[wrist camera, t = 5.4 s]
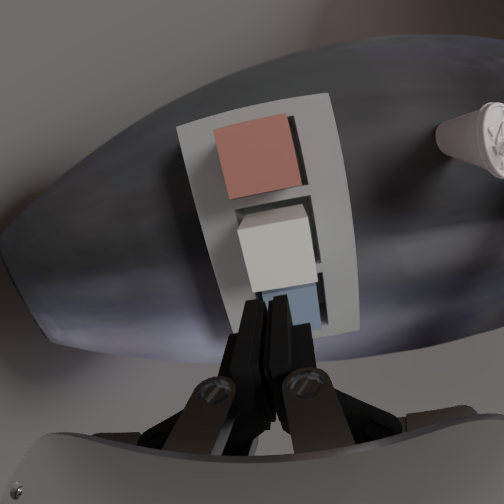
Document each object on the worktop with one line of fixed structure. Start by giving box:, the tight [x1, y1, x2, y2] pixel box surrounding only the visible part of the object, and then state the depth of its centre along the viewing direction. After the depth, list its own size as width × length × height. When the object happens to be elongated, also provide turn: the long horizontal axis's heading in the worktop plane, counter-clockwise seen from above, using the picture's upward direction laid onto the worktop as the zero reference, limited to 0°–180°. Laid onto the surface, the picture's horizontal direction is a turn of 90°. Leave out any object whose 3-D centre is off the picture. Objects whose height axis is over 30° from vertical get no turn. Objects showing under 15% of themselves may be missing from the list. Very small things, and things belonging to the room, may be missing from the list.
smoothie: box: [435, 102, 504, 179], centre depth 15 cm, size 6×6×14 cm
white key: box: [237, 204, 318, 292], centre depth 20 cm, size 4×4×4 cm
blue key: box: [262, 282, 322, 331], centre depth 25 cm, size 4×4×4 cm
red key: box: [213, 113, 302, 199], centre depth 18 cm, size 4×4×4 cm
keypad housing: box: [176, 93, 360, 339], centre depth 24 cm, size 12×21×5 cm, turn 13°
